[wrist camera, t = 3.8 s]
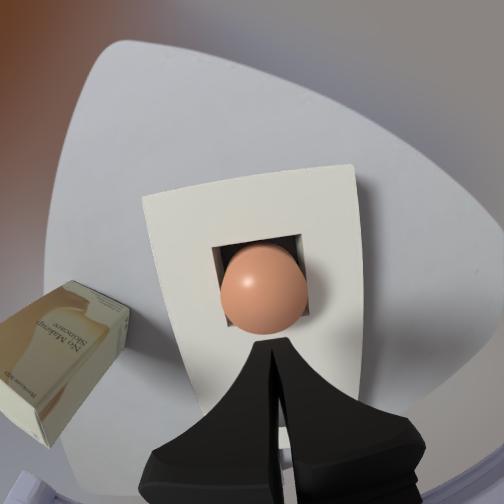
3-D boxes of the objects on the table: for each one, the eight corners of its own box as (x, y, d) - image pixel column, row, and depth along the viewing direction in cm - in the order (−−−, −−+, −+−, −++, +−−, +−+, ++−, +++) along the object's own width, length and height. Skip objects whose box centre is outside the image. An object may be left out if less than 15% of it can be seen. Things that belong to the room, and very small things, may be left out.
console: (345, 413, 22) (353, 434, 19) (222, 430, 22) (220, 453, 19) (337, 167, 17) (353, 163, 14) (158, 195, 17) (141, 197, 14)
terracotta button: (301, 304, 17) (310, 327, 14) (232, 315, 17) (229, 339, 14) (294, 236, 16) (303, 247, 13) (219, 247, 16) (212, 261, 13)
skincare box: (132, 306, 19) (40, 412, 7) (125, 349, 20) (55, 454, 8) (68, 276, 19) (-38, 344, 7) (66, 319, 20) (-20, 395, 8)
